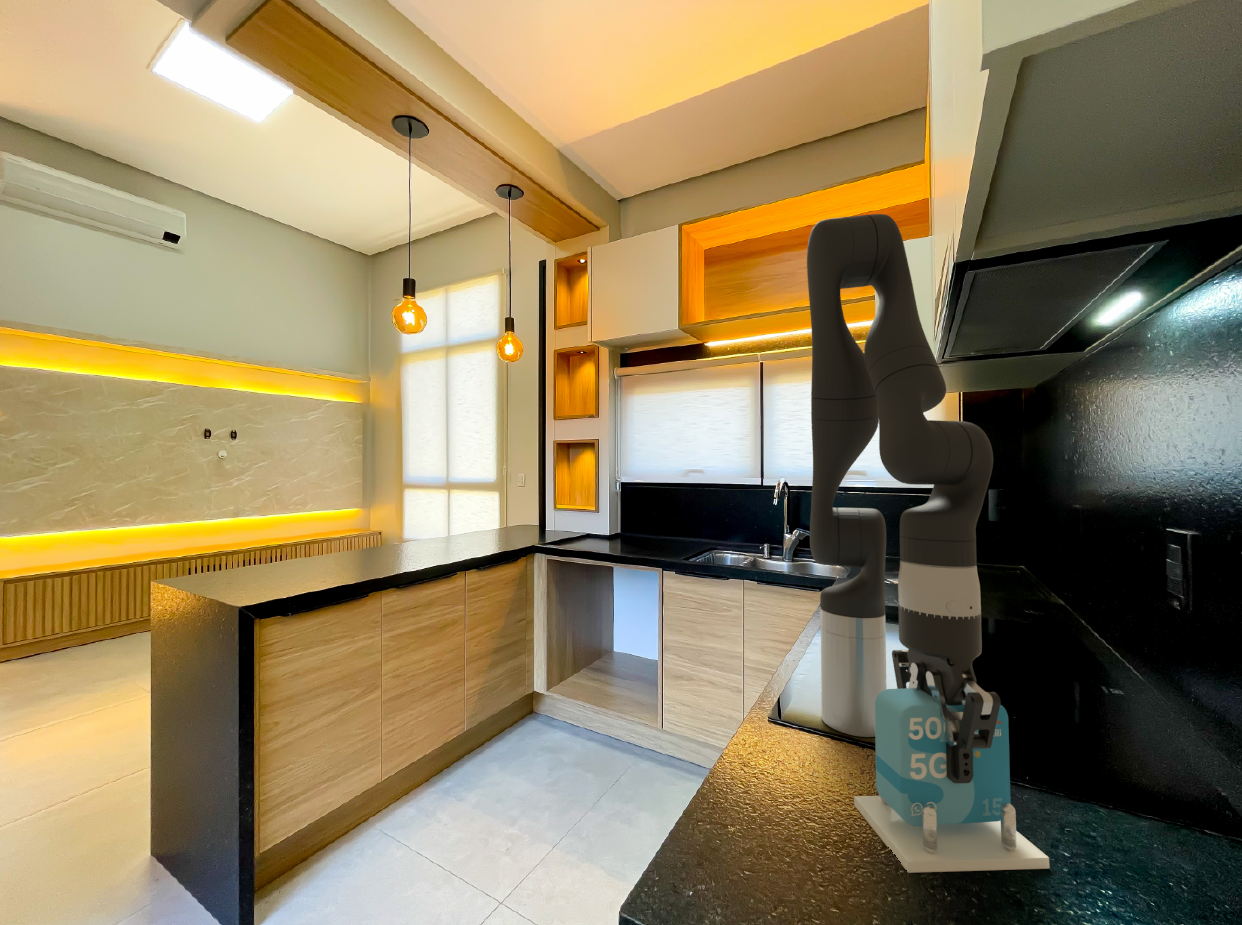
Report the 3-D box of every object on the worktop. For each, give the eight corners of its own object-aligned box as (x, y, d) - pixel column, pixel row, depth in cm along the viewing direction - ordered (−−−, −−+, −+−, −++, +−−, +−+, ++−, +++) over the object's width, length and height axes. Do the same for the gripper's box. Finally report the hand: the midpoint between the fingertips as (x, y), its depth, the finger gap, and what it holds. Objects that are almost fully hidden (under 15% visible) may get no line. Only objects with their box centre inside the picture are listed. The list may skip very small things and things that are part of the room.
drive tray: (854, 805, 57) (854, 796, 58) (971, 802, 58) (971, 793, 58) (908, 872, 47) (907, 861, 48) (1049, 868, 48) (1049, 857, 48)
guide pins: (877, 799, 57) (876, 759, 57) (955, 797, 57) (954, 758, 58) (928, 856, 48) (927, 809, 48) (1019, 853, 49) (1018, 807, 49)
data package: (902, 828, 50) (900, 706, 51) (875, 800, 55) (873, 688, 55) (1012, 821, 51) (1009, 702, 52) (977, 794, 56) (974, 685, 56)
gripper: (1028, 622, 47) (1033, 809, 46) (928, 590, 61) (930, 732, 60) (951, 623, 47) (955, 811, 46) (868, 590, 61) (870, 733, 60)
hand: (941, 765), depth 53 cm, fingers closed on data package, 4 cm apart
